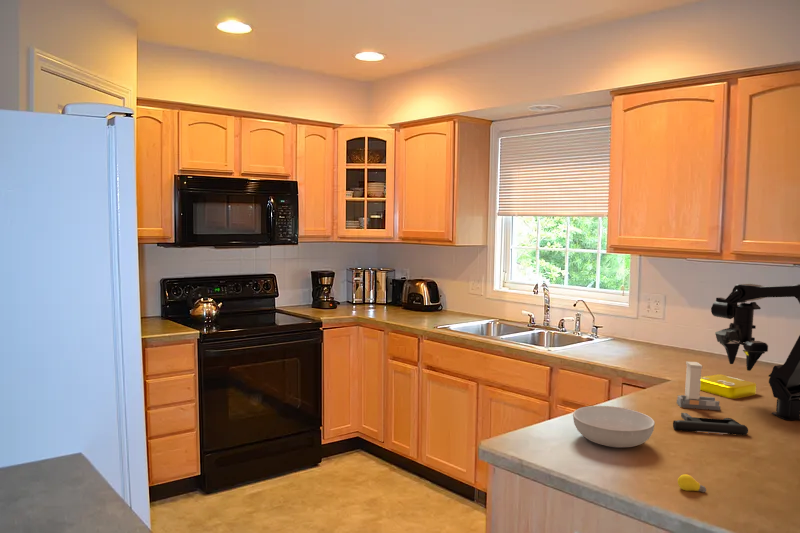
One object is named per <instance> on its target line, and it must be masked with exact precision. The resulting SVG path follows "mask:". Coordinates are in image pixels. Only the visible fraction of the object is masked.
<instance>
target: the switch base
mask: <svg viewBox="0 0 800 533" xmlns="http://www.w3.org/2000/svg"><path fill="white" fill-rule="evenodd" d="M676 404H677V405H678V406H679V407H680V408H681V407H683V409H695V408H696V409H699V410H708V409H709V410H710V411H721V406H720V401H718V400H716V397H713V396H712V397H711V396H701V395H700V399H698V400H696V399H686V395H685V394H684V395H683V394H681V395H677V399H676ZM709 410H708V411H709Z"/></svg>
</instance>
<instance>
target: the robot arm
mask: <svg viewBox="0 0 800 533" xmlns="http://www.w3.org/2000/svg"><path fill="white" fill-rule="evenodd" d="M794 297H795V299H797V301H798V303H799V304H800V283H798V284H793V285H773V286H769V285H768V286H765V285H761V284H755V283H739V284H735V285H734V287H733V288H732V290H731V292H730V293H729V295H727V297H726V298H724V297H716V298H715V301H714V302H713V303H712V306H710V308H711V309H710V312H711V315H712V316H713V317H715V318H716V317H717V318H723V319H728V320H733V322H730V323H729V325H728V326H729V327H727V328H723V329H721V330H718V331H716V332H715V333H714V335H715V338H716V341H717V342H718V343H719V344H720V345H721V346H723V347H724V350H725V351H726V354H727V359H728V363H729V364H730V365H733V364H734V363H735V360H736V357H737V354H738V352H739V349H740V346H741V345H742V347H743V348H744V349H742V351H743V353H744V354H745V356H746V358H745V359H746V363H745V364H746V365H745V366H746V370H747V371H748V372H750V371H752V369H753V368H754V367H755V365H756V364H757V362H758V361H759V359H761V358H760V357H762V356H763V355H764V354H765V353H768V351H769V345H768V343H767V342H764V341H760V340H755V337H754V336H753V330H754V329H756V326H757V325H754V312H755V311H756V310H761V309H762V308H761V306H760V305H758V304H757V302H756V301H759V300H763V299H765V298H766V299H767V298H794ZM747 302H750V303H747ZM738 303H739V304H738ZM768 377H769V379H768V384H769V387H770V388H771V392H772V396H773V398H776V408H775V411H771V415H774V416H775V417H778V418H779V419H783V420H784V421H800V334H799V336H798V338H797V340H796V341H795V343H794V344H793V346H792V349H791V350H790V353H789V354H788V356H787V358H786V360H785V362H784V363H783V364H779V365H778V364H777V365H774V366H773V367H772V371H771V373H770V374H769V375H768Z"/></svg>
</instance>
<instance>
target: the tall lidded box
mask: <svg viewBox="0 0 800 533" xmlns="http://www.w3.org/2000/svg"><path fill="white" fill-rule="evenodd" d="M685 365H686V371H685V384H684V385H685V386H684V387H685V388H684V395H686V399H696V400H698V399H700V396H701V395H700V394H701V390H700V384H701V377H702V369H703V365H702V364H700V363H699V362H698V361H687V360H686V361H685Z"/></svg>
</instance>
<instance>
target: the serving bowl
mask: <svg viewBox="0 0 800 533" xmlns="http://www.w3.org/2000/svg"><path fill="white" fill-rule="evenodd" d="M572 416H573V423H574V426H575V428H576V430H577V431H578V432H579V434H580V435H581V436H583V437H584V438H585V439H587V440H589V441H591V442H592V443H595V444H598V445H602V446H605V447H608V448H609V447H610V448H632V447H636V446H639V445H642V444H644V443H646V442H647V441H648V440H649V439H650V438H651V437H652V436H653V435H652V434H653V433H654V430H655V424H656V422H655V420H654V419H653V418H652V417H651V416H649V415H647V414H645V413H642V412H640V411H637V410H633V409H630V408H625V407H621V406H620V407H619V406H613V405H611V406H610V405H589V406H583V407H582V406H581V407H579V408H578V409H575V410H574V411H573V413H572Z"/></svg>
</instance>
